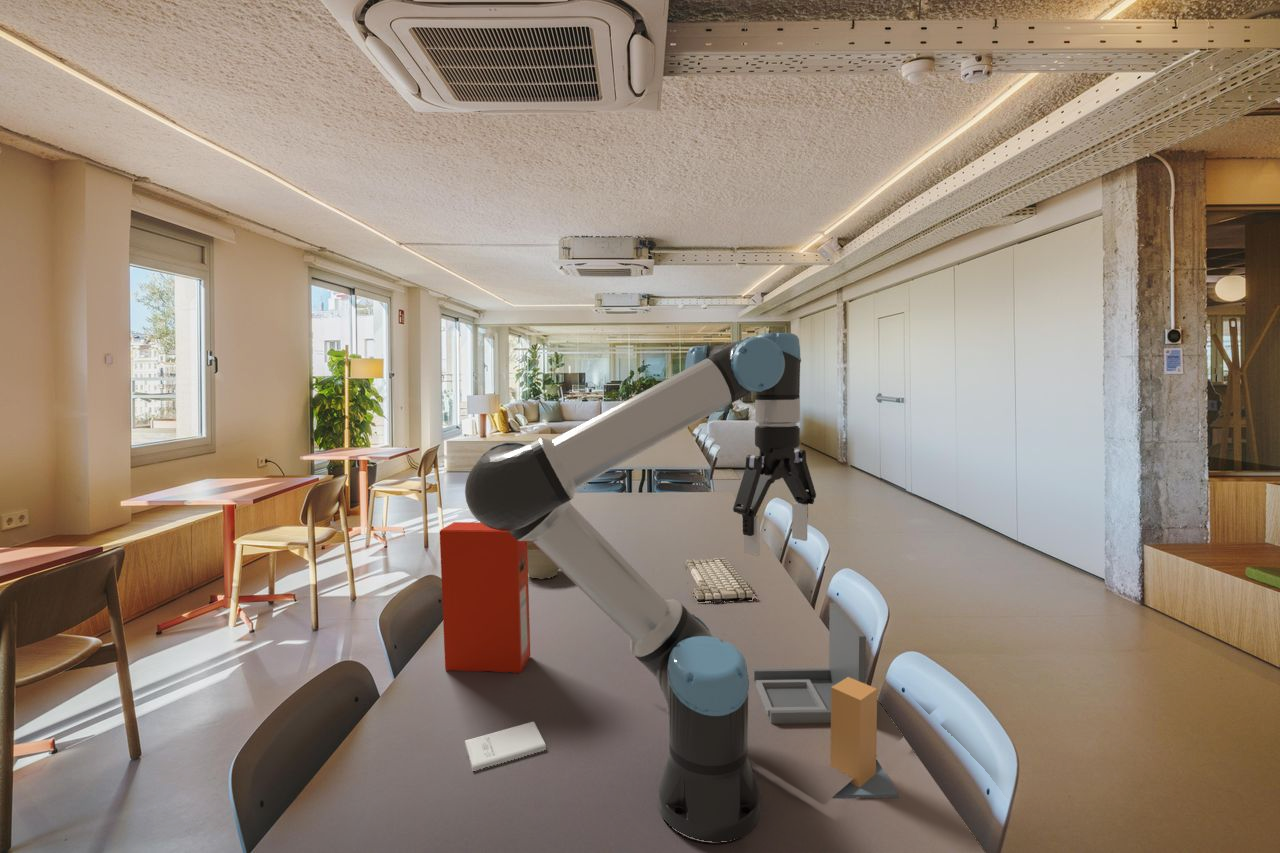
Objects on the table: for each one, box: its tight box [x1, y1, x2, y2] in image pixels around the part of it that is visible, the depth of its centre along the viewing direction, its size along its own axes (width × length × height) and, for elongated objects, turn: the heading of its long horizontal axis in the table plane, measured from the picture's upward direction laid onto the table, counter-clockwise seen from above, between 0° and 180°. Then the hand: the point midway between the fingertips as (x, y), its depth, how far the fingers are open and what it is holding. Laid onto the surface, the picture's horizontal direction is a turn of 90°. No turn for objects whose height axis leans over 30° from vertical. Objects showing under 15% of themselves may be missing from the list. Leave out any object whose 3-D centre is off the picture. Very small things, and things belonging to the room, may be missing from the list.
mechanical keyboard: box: [685, 557, 756, 604], centre depth 184 cm, size 38×19×3 cm, turn 6°
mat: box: [832, 758, 900, 799], centre depth 91 cm, size 10×10×1 cm
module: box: [830, 677, 878, 788], centre depth 91 cm, size 5×5×14 cm
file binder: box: [439, 521, 531, 674], centre depth 129 cm, size 8×17×32 cm, turn 85°
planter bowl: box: [527, 541, 560, 579], centre depth 192 cm, size 16×16×11 cm
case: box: [753, 602, 867, 725], centre depth 111 cm, size 18×16×18 cm
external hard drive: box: [464, 721, 547, 772], centre depth 100 cm, size 2×8×12 cm
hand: (776, 546), depth 99 cm, fingers open, 13 cm apart
